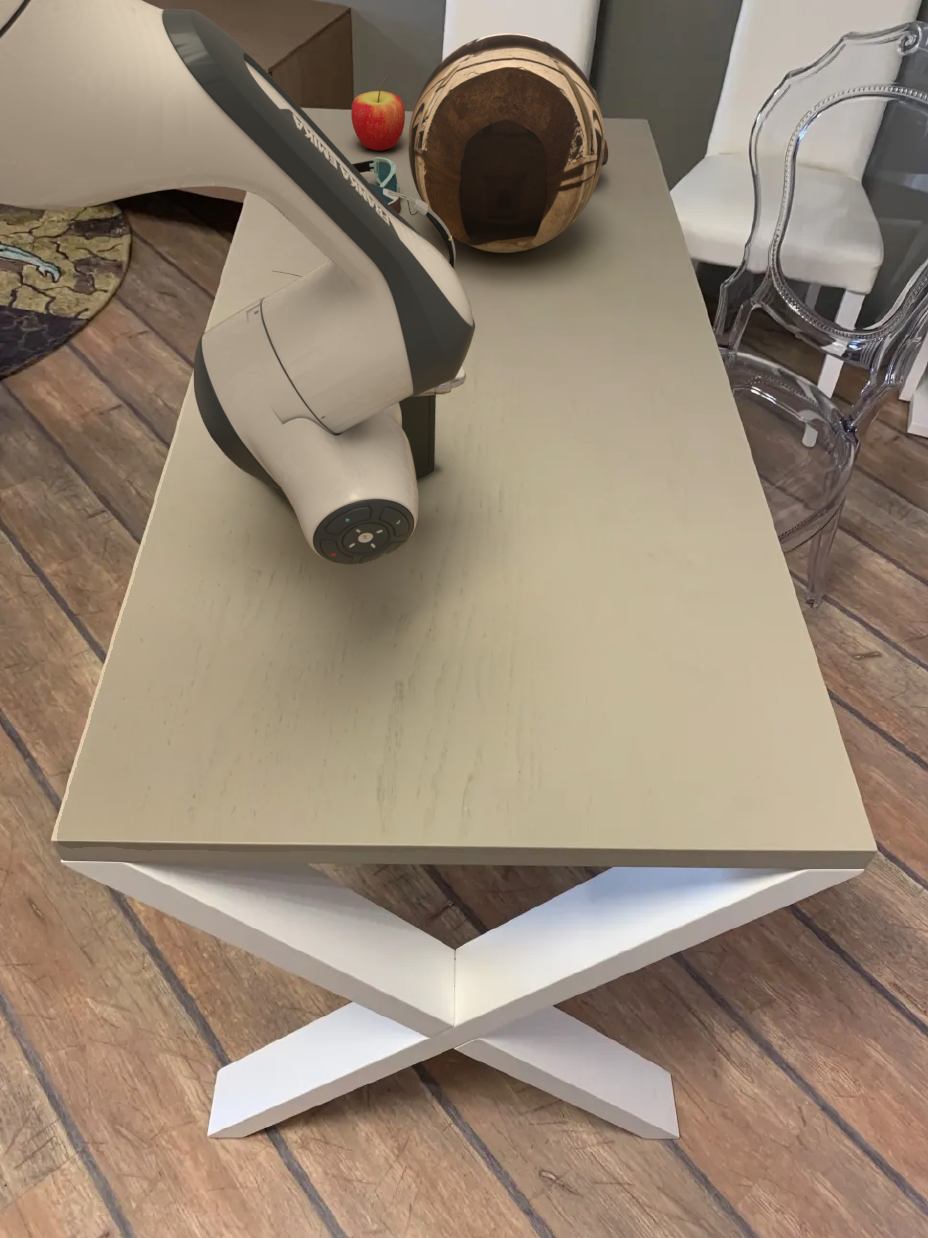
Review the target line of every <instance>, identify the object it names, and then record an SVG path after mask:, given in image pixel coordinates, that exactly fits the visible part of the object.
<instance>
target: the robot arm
mask: <svg viewBox="0 0 928 1238" xmlns="http://www.w3.org/2000/svg"><path fill="white" fill-rule="evenodd" d="M352 164H353V163H351V161H350V160H349V159H348V158H347V157H346V156H345V155H344V154H343V153H342V151H340V149H339V148H338V147H337V146H336V145H335V143H333V141H332V140H331V139H330V138H329V137H328V136H327V135H326V134H325V132H323V130H321V128H320V127H319V126H318V125H317V124H316V123H315V122H314V120H313V119H312V118H311V117H310V116H309V115H308V114H307V113H306V111H304V110H303V109H302V107H301V106H300V105H299V104H298V103H297V102H296V101H295V99H293V98H292V96H291V95H289V93H288V92H287V91H286V90H285V89H284V88H283V87H282V86H281V85H280V84H279V82H277V80H275V79H274V78H273V77H272V75H270V74H269V72H268V71H267V70H266V69H265V68H264V67H263V66H262V65H261V64H260V63H259V62H258V61H257V60H256V59H255V58H254V57H253V56H252V55H251V54H250V53H249V52H248V51H247V50H246V49H245V48H244V47H243V46H242V45H241V44H240V43H239V42H238V41H236V40H235V38H233V37H232V36H231V35H230V34H229V33H228V32H227V31H225V29H222V27H220V26H219V25H218V24H216V23H215V22H214V21H213V20H211V19H210V18H208V17H207V16H206V15H204V14H202V13H201V12H199V11H198V10H196V9H188V8H187V9H184V8H183V9H182V8H181V9H180V8H164V9H163V8H159V7H157V6H155V5H154V4H150V3H149V2H146V1H144V0H0V204H2V205H6V206H12V207H16V208H23V209H33V210H41V211H42V210H43V211H51V210H52V211H57V210H60V211H61V210H74V209H82V208H83V209H84V208H88V207H93V206H99V205H102V204H106V203H110V202H113V201H117V200H122V199H126V198H130V197H135V196H140V195H144V194H150V193H155V192H161V191H169V190H176V189H188V188H201V187H204V188H205V187H217V188H218V187H220V188H221V187H222V188H223V187H224V188H230V189H236V190H241V191H244V192H248V193H251V194H253V195H256V196H258V197H260V198H262V199H263V200H265V201H266V202H267V203H269V204H270V205H271V206H272V207H273V208H274V209H276V211H278V212H279V213H280V215H282V216H283V217H284V218H285V219H286V220H287V221H288V222H289V223H290V224H292V225H293V227H295V228H296V229H297V230H298V231H299V232H300V233H301V234H302V235H303V236H304V237H305V238H306V239H307V240H308V241H309V242H311V244H313V245H314V246H315V247H316V248H317V249H318V250H319V251H320V252H321V253H322V254H323V255H324V256H325V257H326V258H327V259H328V260H326V261H325V262H324V263H322V264H321V265H319V266H317V267H316V268H313V269H312V270H310V271H308V272H307V273H305V274H303V275H301V276H302V277H301V276H299V277H298V278H296V279H295V280H293V281H291V282H290V283H287V284H286V285H284V286H283V287H281V288H280V289H277V290H276V291H274V292H272V293H271V294H269V295H268V296H265V297H261V298H259V299H258V300H255V301H254V302H253V303H251V304H248V305H247V306H246V307H244V308H242V309H240V310H239V311H237V312H235V313H234V314H232V315H230V316H229V317H227V318H225V319H224V320H222V321H220V322H219V323H217V324H216V325H214V326H212V327H210V328H209V329H207V330H206V331H204V332H203V333H202V334H201V335H200V337H199V340H198V342H197V344H196V348H195V352H194V359H193V392H194V397H195V402H196V405H197V409H198V412H199V415H200V417H201V420H202V422H203V425H204V426H205V427H204V428H205V429H206V430H207V432H208V434H209V436H210V437H211V439H212V440H213V442H214V443H215V445H216V446H217V447H218V449H220V450H221V452H222V454H224V455H225V456H226V458H228V459H229V460H230V461H231V462H232V463H233V464H234V465H235V466H236V467H237V468H239V469H240V470H242V471H243V472H245V473H246V474H248V475H249V476H252V477H253V478H255V479H257V480H259V481H261V482H262V483H264V484H266V485H268V486H270V487H272V488H273V487H275V488H277V489H281V490H283V491H284V493H285V494H286V496H287V498H288V500H289V501H290V503H291V505H292V506H291V505H290V506H291V507H292V508H293V511H294V513H295V515H296V517H297V520H298V523H299V525H300V528H301V531H302V533H303V536H304V538H305V540H306V542H307V544H308V546H309V547H310V548H311V549H312V551H313V552H314V553H315V554H316V555H318V556H319V557H320V558H321V559H323V560H325V561H327V562H330V563H333V564H338V565H349V566H350V565H351V566H352V565H360V564H361V565H362V564H365V563H371V562H373V561H376V560H378V559H380V558H383V557H385V556H387V555H388V554H391V553H393V552H394V551H396V550H398V549H399V548H401V547H402V546H403V545H405V544H406V543H407V542H408V541H409V539H411V537H412V535H413V533H414V532H415V529H416V527H417V523H418V518H419V490H418V489H419V488H418V481H417V479H418V478H417V479H416V472H415V467H414V462H413V457H412V452H411V448H410V444H409V441H408V438H407V436H406V434H405V432H404V431H403V429H402V415H401V409H400V405H399V401H401V400H403V399H405V398H407V397H415V396H427V395H434V394H436V396H437V395H446V394H449V393H451V392H452V389H456V388H457V387H460V386H463V384H464V383H465V381H466V379H467V374H466V370H465V368H464V365H463V364H464V362H465V360H466V358H467V355H468V352H469V350H470V347H471V345H472V341H473V338H474V336H475V335H474V334H475V330H476V323H475V319H474V316H473V310H472V306H471V303H470V300H469V296H468V294H467V291H466V289H465V288H464V285H463V283H462V281H461V278H459V275H458V274H457V272H456V270H455V268H454V269H453V268H452V266H451V265H450V264H449V260H448V259H447V258H446V257H445V256H444V255H443V253H441V252H440V251H439V250H438V249H437V248H436V247H435V246H434V245H433V244H431V242H429V241H428V240H427V239H426V238H425V237H424V236H423V235H422V234H421V233H420V231H418V230H417V229H416V228H415V227H414V226H413V225H412V224H410V222H408V221H407V220H406V219H405V218H404V217H403V216H402V215H401V214H400V213H399V214H398V213H397V212H396V211H395V210H394V209H393V208H392V207H391V206H390V205H389V204H388V203H387V202H386V201H385V200H384V199H383V198H382V197H381V196H380V195H379V194H378V193H377V191H376V190H375V189H374V188H373V187H372V186H371V185H370V184H369V183H370V182H369V181H368V180H367V179H366V178H365V177H364V176H363V175H362V174H361V173H359V172H358V170H357V169H356V168H355V167H354V166H353V165H352Z"/></svg>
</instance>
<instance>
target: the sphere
mask: <svg viewBox="0 0 928 1238" xmlns="http://www.w3.org/2000/svg"><path fill="white" fill-rule="evenodd" d="M593 89H594V88H593V86H592V85H591V83H590V80H589V79H588V78H587V76H586V75H585V73H584V72H583V70H582V69H581V68H580V67H579V66H578V64H577V63H576V62H575V61H574V60H573V59H572V58H571V57H570V56H569V55H568V54H566V53H565V52H564V51H562V50H561V49H560V48H559V47H557V46H555V45H553V44H552V43H549V42H548V41H545V40H543V39H541V38H538V37H535V36H532V35H528V34H522V33H513V32H505V33H502V32H501V33H495V34H490V35H489V34H488V35H485V36H481V37H479V38H476V39H473V40H471V41H469V42H467V43H465V44H463V45H461V46H460V47H458V48H457V49H455V50H454V51H452V52H451V53H450V54H449V55H448V56H446V57H445V58H444V59H443V60H442V61H441V62H440V63H439V64H438V65H437V66H436V68H434V70H433V71H432V72H431V74H430V75H429V76H428V78H427V79H426V81H425V83H424V84H423V86H422V88H421V90H420V92H419V94H418V97H417V99H416V101H415V104H414V106H413V110H412V114H411V117H410V123H409V130H408V141H407V147H408V149H407V151H408V162H409V168H410V173H411V176H412V181H413V183H414V186H415V189H416V192H417V194H418V195H419V199H420V200H421V201H423V202H425V203H427V204H428V208H429V209H430V210H432V211H433V212H434V213H435V214H436V215H437V216H438V217H439V218H440V219H441V220H442V222H443V223H444V224H445V226H446V227H447V229H448V230H449V232H450V234H451V236H452V238H455V239H456V240H458V241H459V242H461V243H463V244H465V245H468V246H470V247H473V248H475V249H477V250H482V251H485V252H490V253H498V254H499V253H501V254H502V253H503V254H508V253H519V252H523V251H529V250H530V249H534V248H537V247H540V246H542V245H544V244H546V243H548V242H549V241H552V240H553V239H555V238H556V237H557V236H559V235H560V234H562V233H563V232H564V231H566V229H568V228H569V227H570V226H571V225H572V224H573V223H574V222H575V221H576V219H577V218H578V217H579V216H580V215H581V213H582V212H583V211H584V209H585V208H586V207H587V204H588V203H589V201H590V199H592V195H593V193H594V191H595V189H596V187H597V184H598V182H599V179H600V175H601V171H602V168H603V166H602V163H603V157H604V145H605V140H606V138H605V127H604V126H605V125H604V120H603V114H602V110H601V106H600V103H599V100H598V96H597V97H596V95H595V93H594V91H595V89H594V90H593Z"/></svg>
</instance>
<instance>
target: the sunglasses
mask: <svg viewBox="0 0 928 1238" xmlns="http://www.w3.org/2000/svg"><path fill="white" fill-rule="evenodd" d="M351 164H352V165H353V166H354V167H355V168H356V169H357V170H358V172H359V173H360V174H361V173H367V172H369V173H370V172H373V173H374V177H375V180H376V182H377V183H378V184H379V186H380V187H383V188H386V189H388V190H391V191H393V192H396V193H399V194H400V184H399V183H398V178H397V173H396V170H397V164H396V163H395V162H394V161H393V160H391V159H390V158H387V157H380V156H376V157H374V158H372V160H366V161H360V162H355V163H351Z"/></svg>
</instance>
